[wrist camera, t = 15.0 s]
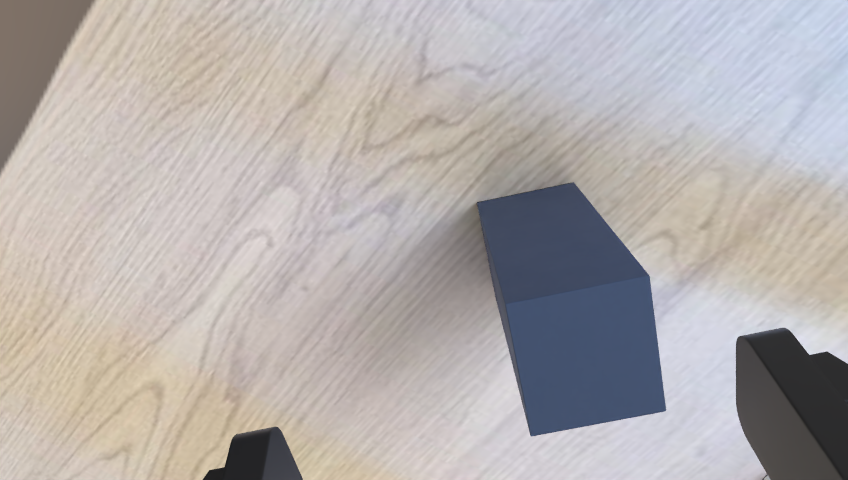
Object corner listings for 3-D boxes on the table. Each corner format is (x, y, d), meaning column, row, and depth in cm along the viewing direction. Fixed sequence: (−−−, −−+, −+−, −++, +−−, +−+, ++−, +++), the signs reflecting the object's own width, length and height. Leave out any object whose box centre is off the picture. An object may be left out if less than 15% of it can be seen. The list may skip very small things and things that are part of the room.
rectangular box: (504, 304, 27) (531, 439, 29) (649, 275, 27) (666, 413, 29) (476, 202, 41) (496, 300, 43) (573, 181, 40) (589, 281, 42)
